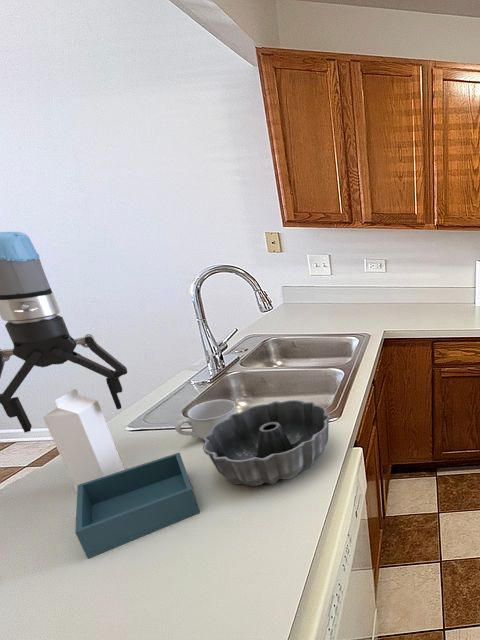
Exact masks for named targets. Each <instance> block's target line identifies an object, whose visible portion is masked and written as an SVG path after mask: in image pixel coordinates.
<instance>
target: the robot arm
mask: <svg viewBox="0 0 480 640" xmlns="http://www.w3.org/2000/svg"><path fill="white" fill-rule="evenodd" d="M60 312H61V310H60V307H59V304H58V302H57V300H56V297H55V294H54V292H53V290H52V288H51V286H50V283H49V281H48V278H47V276H46V273H45V270H44V268H43V265H42V262H41V259H40V255H39V253H38V252H37V249H36V248H35V246H34V244H33V243H32V240H31V238H30V237H29V236H28V235H27V234H26V233H24V232H21V231H0V318H1V320H2V321H4V322H5V321H6V323H5V325H4V327H5V329H6V331H7V333H8V336H9V338H10V340H11V342H12V344H13V348H5V349H2V348H0V379H1V378H2V374H3V371H4V366H5V363H6V362H8V361H10V359H11V356H15V357H17V358H19V359H21V360H22V361H24V362H23V364H22V365H21V367H20V368H19V369H18V371H17V372H16V373H15V375H14V377H13V378H12V379H11V380H10V382H9V384H8V385H7V387H6V388H5V389H4V391H3V392H2V393H0V404H1V406H2V408H3V411H4V412H5V414H6V416H7V417H8V418H10V419H11V418H15V417H16V418H17V420H18V422H19V424H20V426H21V428H22V430H23V432H24V433H30V432H31V430H32V427H33V426H32V424H31V421H30V419H29V417H28V415H27V413H26V411H25V409H24V407H23V404H22V402H21V401H20V398H19V396H14V395H15V393H16V392H17V390H18V389H19V388H20V386H21V384H22V383H23V382H24V380H25V379H26V377H27V376H28V375H29V373H30V372H31V371H32V369H33V368H34V367H37V368H39V367H40V368H46V367H49V366H52V365H63V364H65V363H67V362H68V361H69V362H71V363H73V364H77V365H79V366H81V367H83V368H86V369H87V370H90V371H92V372H94V373H96V374H99V375H101V376H103V377H104V378H105V381H106V385H107V388H108V390H109V392H110V395H111V398H112V400H113V403H114V406H115V409H116V410H122V403H121V400H120V398H119V396H118V394H119V393H123V386H122V383H121V381H120V377H122V376H125V375H127V374H128V367H126V366H125V365H124V364H123V363H122V362H120V361H119V360H118V359H117V358H115V357H114V356H113V355H112V354H110V353H109V352H108V351H107V350H106V349H104V348H103V347H102V346H101V345H99V344H98V343H97V341H96V339H95V337H94V336H93V335H92V334H89V333H88V334H85V335H84V336H82V337H78V338H73V337H72V336H71V334H70V332H69V329H68V327H67V325H66V322H65V320H64V318H63V316H61V315H60ZM78 345H79V346H82V348H85V349H86V348H87V349H89V350H90V351H91V352H92V353H93V354H95V356H98V358H100V359H101V360H103V361H104V363H106V364H108V365H109V366H110V367H111V368H113V369H114V370H113V369H111V368H109V367H107V366H104V365H102V364H100V363H99V362H96V361H94V360H92V359H90V358H88V357H85V356H83V355H82V354H80V353H78V352H76V351H75V349H76V348H77V346H78Z"/></svg>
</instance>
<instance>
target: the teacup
mask: <svg viewBox="0 0 480 640" xmlns="http://www.w3.org/2000/svg"><path fill="white" fill-rule="evenodd" d="M236 406H237V405H236V403H235V401H233V400H230V399H223V398H221V399H212V400H207V401H204V402H201V403H197V404H196V405H194V406H192V407H191V408H190V409H189V410H188V411H187V414H186V415H187V417H188V418H181V419H179V420H178V421H177V422H176V423H175V424H174V425H175V426H174V429H175V431H176V432H177V433H178V434H179V435H182V436H189V437H190V436H191V437H193V438H199V439H202V440H203V438H204V437H205V436H206V435H208V434H209V433H210V430H211V428H212V427H213V426H214V425H216V424H217V423H219V422H221V421H223V420H225V419H227V418H228V417H229V416H230V415H231V414H235V413H238V411H237V407H236ZM184 424H188V425H189V426H190V428H191V431H190V430H189V431H186V430H182V429H181V428H182V425H184Z"/></svg>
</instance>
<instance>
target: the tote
mask: <svg viewBox="0 0 480 640" xmlns="http://www.w3.org/2000/svg"><path fill="white" fill-rule="evenodd" d="M200 511H201V510H200V508H199V505H198V502H197V499H196V496H195V493H194V489H193V486H192V484H191V481H190V478H189V475H188V473H187V470H186V467H185V464H184V461H183V458H182V455H181V453H180V452H176V453H172V454H170V455H166V456H163V457H161V458H158V459H153V460H151V461H147V462H145V463H141V464H139V465H136V466H132V467H129V468H126V469H124V470H123V471H120V472H117V473H113V474H110V475H107V476H104V477H101V478H98V479H95V480H92V481H88V482H85V483H82V484H79V485H78V489H77V491H76V512H75V513H76V514H75V532H74V533H75V535H76V537H77V539H78V541H79V543H80V545H81V547H82V550H83V552H84V554H85V556H86V558H87V559H91V558H94V557H96V556H98V555H101V554H103V553H105V552H108V551H110V550H113V549H115V548H118V547H120V546H124V545H125V544H127V543H129V542H132V541H135V540H137V539H139V538H143V537H145V536H147V535H149V534H152V533H154V532H156V531H160V530H161V529H164V528H166V527H169V526H171V525H173V524H176V523H179V522H180V521H184V520H186V519H188V518H190V517H192V516H195V515H196V516H197V514H200V513H201V512H200Z"/></svg>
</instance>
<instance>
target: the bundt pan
mask: <svg viewBox="0 0 480 640" xmlns="http://www.w3.org/2000/svg"><path fill="white" fill-rule="evenodd" d="M330 420H331V416H330V415H329V414H328V412H327V408H326V407H325V406H323V405H318V404H316V403H315V402H314V401H303V400H301V399H290V400H285V401H277V400H275V401H271V402H268V403H264V404H256V405H254V406H250V407H247V408H245V409H243V410H242V411H239V412H237V413H235V414H231V415H230V416H229V417H228V418H227V419H225V420H223V421H221V422H219V423H217V424H216V425H214V426H213V427H212V428H211V430H210V433H209V434H208V435H206V436H205V437H204V438H203V439H202V440H203V442H204V443H203V445H202V450H203V452H204V453H205V454H206V455H207V456H209V458H210V460H211V462H212V464H213V465H214V468H215V469H216V470H217V472H218V473H219V474H220V475H222V476H224V477H225V479H226V480H227V481H228V482H229V483H231V484H235V485H240V484H244V485H245V486H250V487H255V486H260V485H263V484H264V483H267V484H269V485H271V486H273V485H275V484H276V483H277V482H278V481H279V480H289V479H293V478H295V477H296V476H297V475H298V474H300V473H301V471H308V470H309V469H311V468H312V467H313V464H314V462H316V461H318V460H319V459H320V458H321V457H322V456H323V454H324V452H325V448H326V445H327V444H328V441H329V427H330V426H329V424H330V423H329V422H330Z"/></svg>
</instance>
